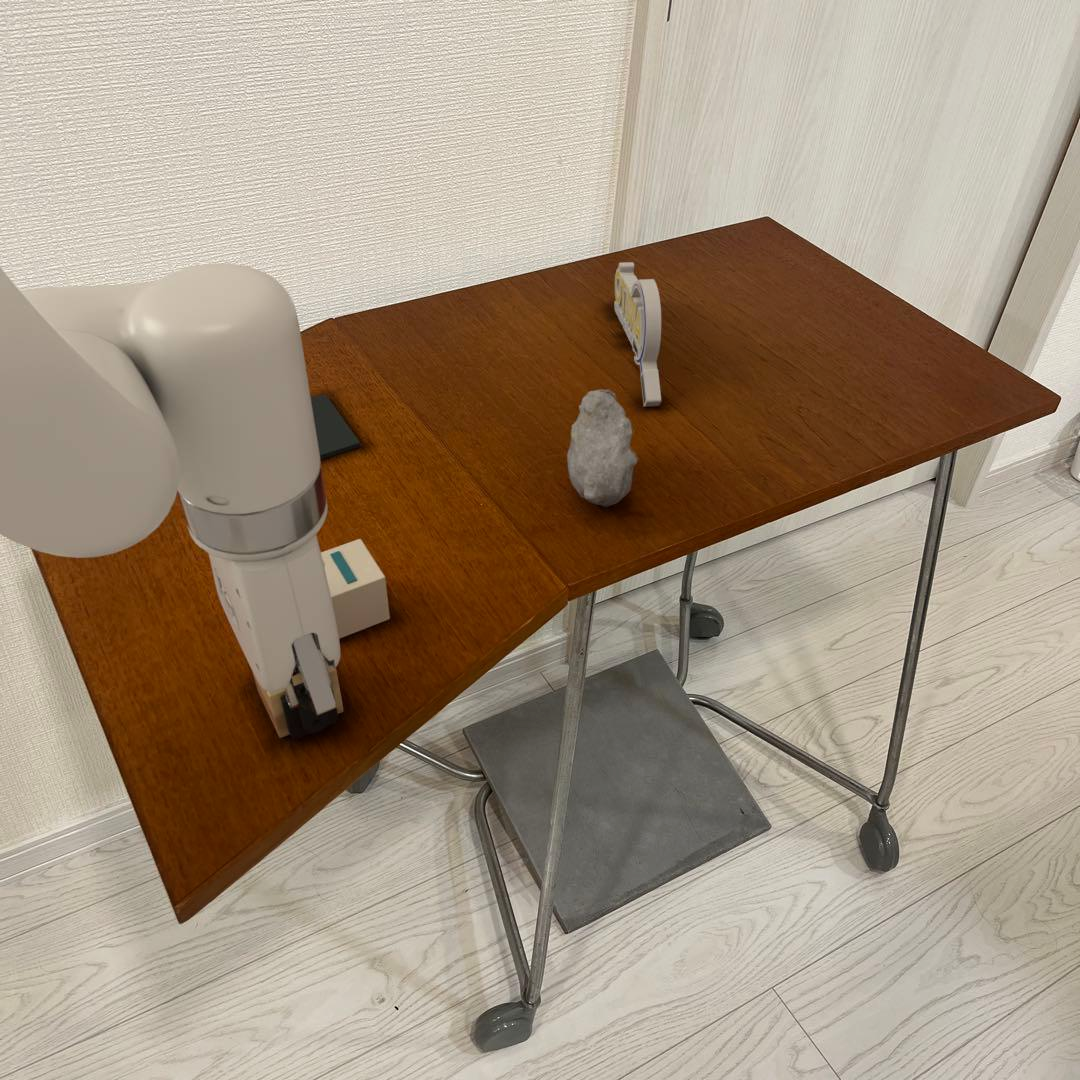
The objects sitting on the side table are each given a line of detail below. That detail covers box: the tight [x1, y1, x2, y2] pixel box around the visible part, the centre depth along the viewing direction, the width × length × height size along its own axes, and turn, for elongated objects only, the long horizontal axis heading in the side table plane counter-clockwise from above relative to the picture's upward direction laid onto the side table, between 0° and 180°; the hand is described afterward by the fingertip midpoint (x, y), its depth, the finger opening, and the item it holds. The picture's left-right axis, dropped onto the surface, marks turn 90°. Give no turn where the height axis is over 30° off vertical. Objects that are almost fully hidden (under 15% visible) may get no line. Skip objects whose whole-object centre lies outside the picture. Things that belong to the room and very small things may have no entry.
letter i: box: [321, 538, 391, 640], centre depth 72 cm, size 4×4×4 cm
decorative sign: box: [613, 261, 662, 408], centre depth 96 cm, size 18×1×10 cm, turn 6°
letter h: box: [252, 663, 344, 739], centre depth 66 cm, size 4×4×4 cm
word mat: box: [311, 393, 361, 461], centre depth 86 cm, size 14×8×1 cm, turn 120°
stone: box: [566, 389, 639, 508], centre depth 80 cm, size 9×7×10 cm
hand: (299, 697), depth 67 cm, fingers closed on letter h, 4 cm apart
